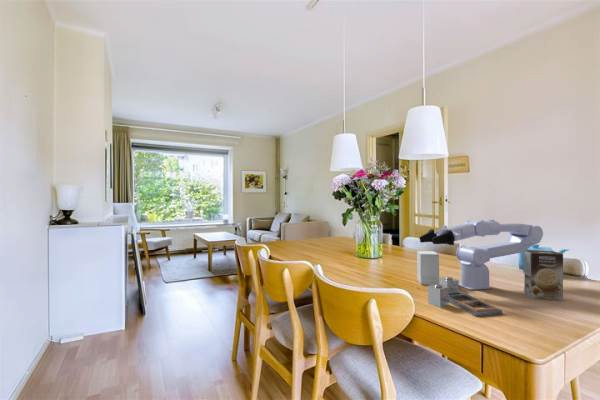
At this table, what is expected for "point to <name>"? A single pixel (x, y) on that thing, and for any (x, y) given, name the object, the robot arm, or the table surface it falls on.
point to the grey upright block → (438, 295)
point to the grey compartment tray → (473, 302)
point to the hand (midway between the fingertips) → (426, 240)
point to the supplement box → (427, 267)
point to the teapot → (534, 247)
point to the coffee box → (543, 275)
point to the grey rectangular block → (450, 284)
